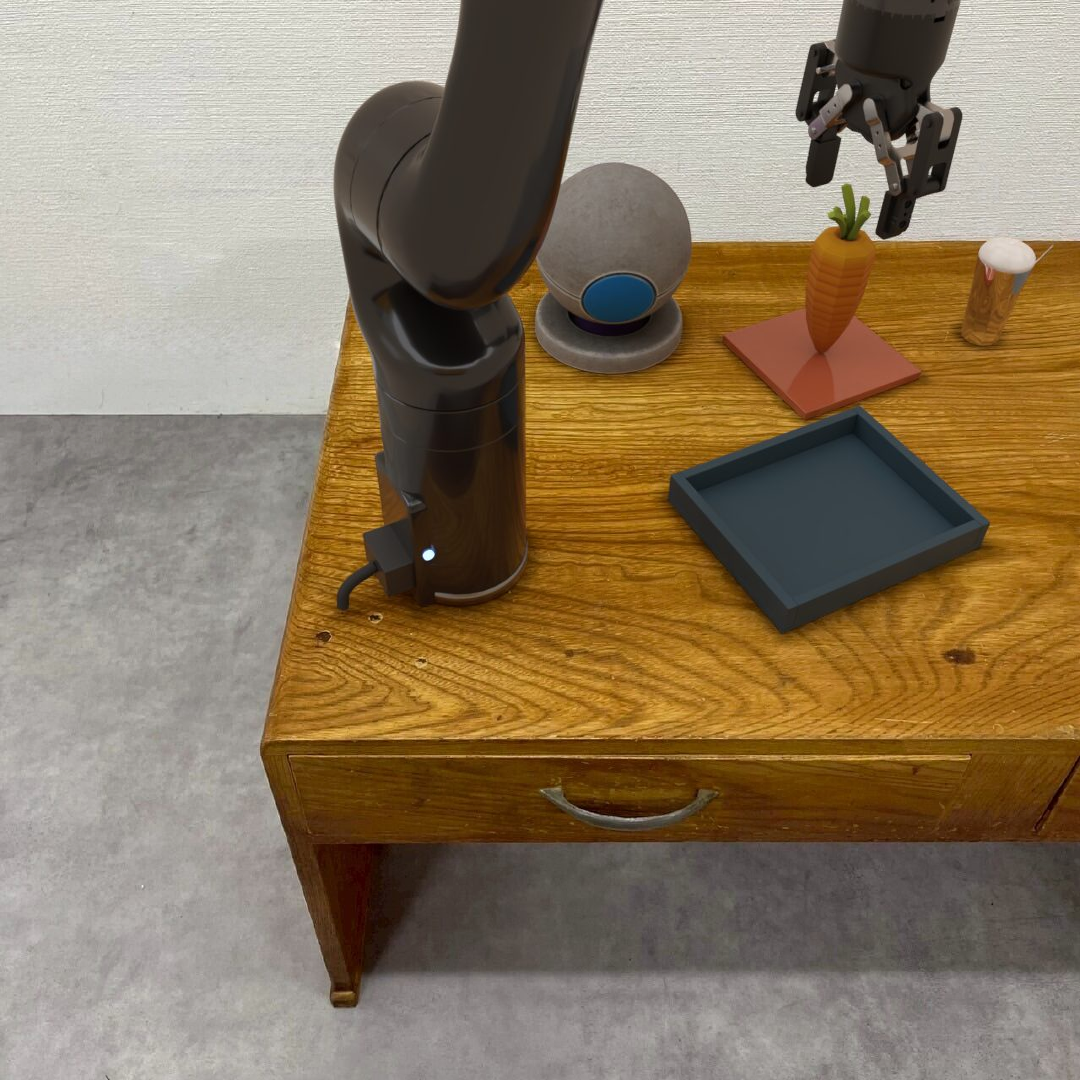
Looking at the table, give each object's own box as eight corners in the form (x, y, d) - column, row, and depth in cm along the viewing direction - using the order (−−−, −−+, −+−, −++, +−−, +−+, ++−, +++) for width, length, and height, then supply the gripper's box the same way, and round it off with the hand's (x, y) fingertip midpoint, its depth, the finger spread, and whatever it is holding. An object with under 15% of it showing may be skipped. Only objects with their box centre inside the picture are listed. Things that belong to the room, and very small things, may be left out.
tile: (804, 420, 91) (806, 413, 90) (721, 341, 98) (722, 334, 98) (919, 378, 95) (922, 371, 94) (831, 305, 102) (833, 298, 101)
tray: (782, 634, 75) (788, 609, 74) (667, 499, 84) (670, 474, 82) (980, 547, 81) (991, 522, 79) (853, 429, 90) (860, 404, 88)
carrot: (849, 373, 94) (890, 212, 83) (789, 366, 94) (822, 205, 84) (850, 339, 97) (890, 179, 86) (792, 332, 98) (824, 173, 87)
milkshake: (1007, 360, 96) (1045, 259, 89) (945, 340, 98) (978, 239, 91) (1021, 333, 99) (1059, 233, 92) (961, 314, 101) (994, 215, 94)
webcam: (671, 287, 104) (687, 133, 93) (691, 372, 95) (711, 213, 84) (531, 291, 103) (531, 136, 92) (538, 377, 95) (539, 217, 84)
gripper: (793, -39, 77) (758, 178, 89) (933, 37, 69) (873, 267, 80) (879, -55, 80) (833, 158, 92) (1024, 16, 71) (953, 241, 83)
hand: (852, 208), depth 86 cm, fingers open, 8 cm apart
